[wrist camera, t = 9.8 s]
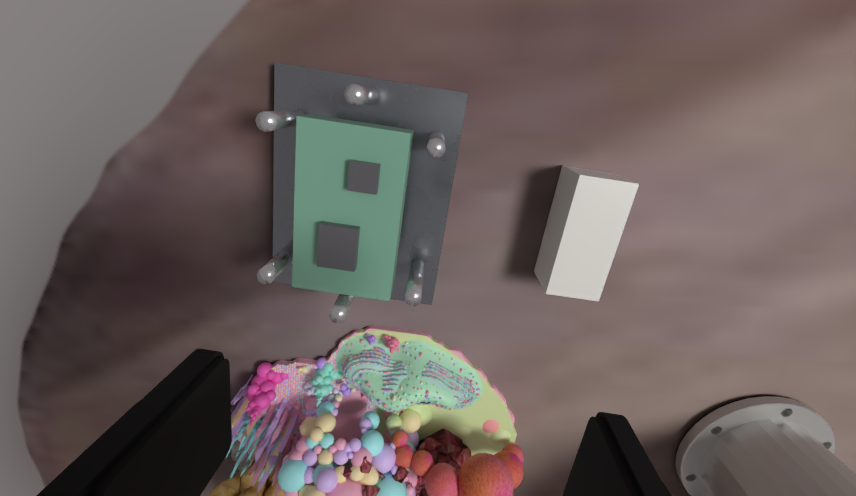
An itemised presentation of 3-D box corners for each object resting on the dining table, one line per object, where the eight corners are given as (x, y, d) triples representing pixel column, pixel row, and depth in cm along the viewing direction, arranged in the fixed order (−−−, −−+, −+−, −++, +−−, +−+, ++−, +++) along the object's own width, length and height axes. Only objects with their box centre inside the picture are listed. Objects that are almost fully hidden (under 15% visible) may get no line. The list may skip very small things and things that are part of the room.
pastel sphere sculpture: (399, 555, 42) (388, 673, 34) (194, 457, 38) (122, 564, 29) (555, 405, 35) (594, 508, 26) (321, 262, 30) (274, 327, 22)
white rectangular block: (580, 278, 30) (598, 301, 26) (533, 271, 30) (545, 293, 26) (614, 173, 27) (639, 184, 24) (562, 165, 27) (579, 174, 23)
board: (393, 283, 26) (388, 305, 24) (304, 270, 26) (288, 291, 24) (413, 130, 23) (410, 134, 20) (310, 114, 23) (292, 116, 20)
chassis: (431, 298, 31) (430, 343, 25) (277, 276, 30) (241, 316, 25) (467, 93, 25) (474, 92, 20) (280, 63, 25) (234, 53, 19)
